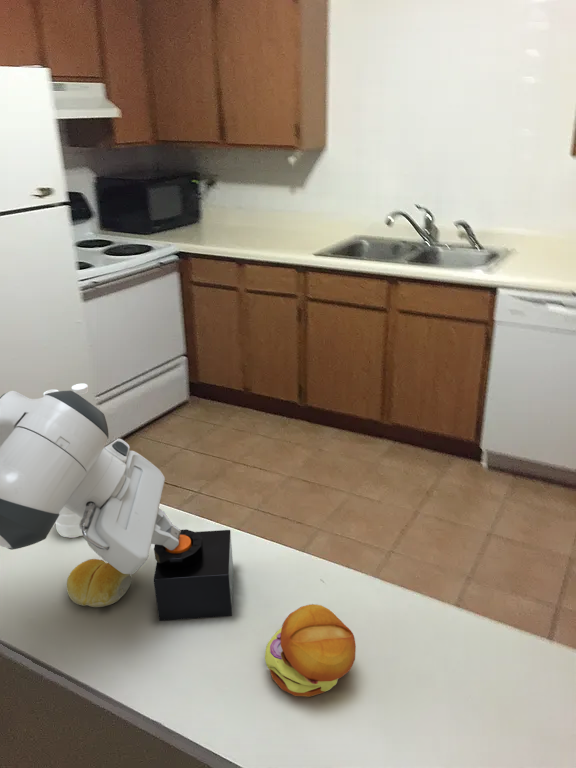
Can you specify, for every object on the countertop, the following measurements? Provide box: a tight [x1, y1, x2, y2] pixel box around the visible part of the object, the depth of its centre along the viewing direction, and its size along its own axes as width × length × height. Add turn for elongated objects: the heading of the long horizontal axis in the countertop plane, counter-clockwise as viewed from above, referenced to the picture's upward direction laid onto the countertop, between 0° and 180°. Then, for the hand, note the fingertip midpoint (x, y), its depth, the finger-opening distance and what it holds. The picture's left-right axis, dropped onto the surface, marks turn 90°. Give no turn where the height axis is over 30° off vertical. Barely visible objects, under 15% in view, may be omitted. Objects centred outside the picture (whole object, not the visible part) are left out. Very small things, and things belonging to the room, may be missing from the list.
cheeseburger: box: [264, 603, 357, 698], centre depth 81 cm, size 10×11×10 cm
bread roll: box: [66, 558, 133, 608], centre depth 97 cm, size 8×9×4 cm
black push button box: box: [152, 528, 234, 622], centre depth 94 cm, size 10×10×9 cm
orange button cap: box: [165, 535, 192, 553], centre depth 93 cm, size 4×4×2 cm
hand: (177, 540), depth 92 cm, fingers closed, pressing on orange button cap
